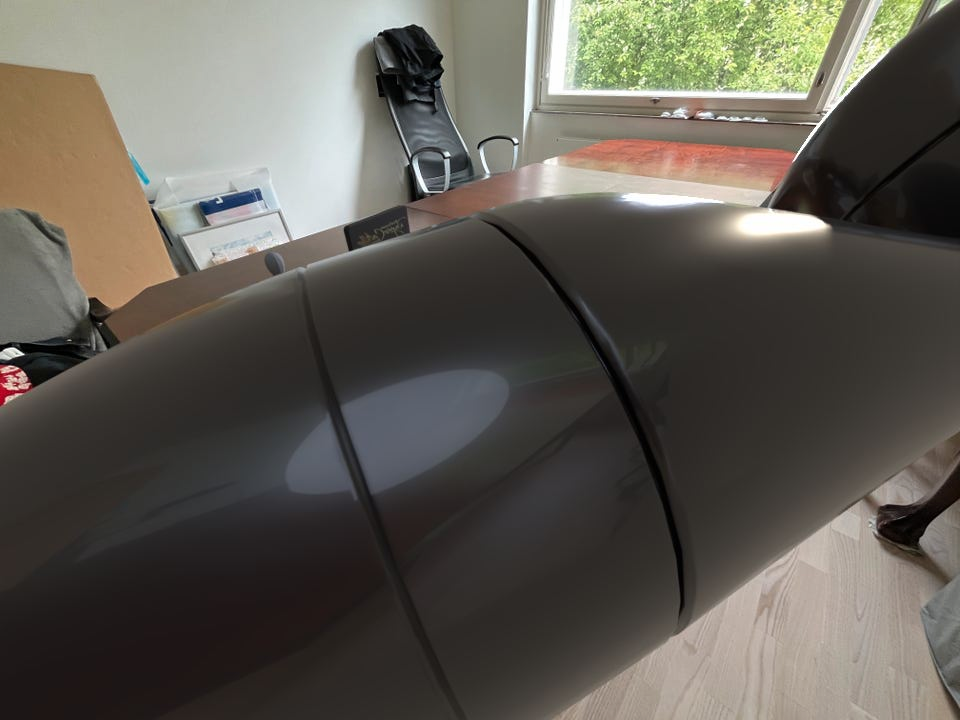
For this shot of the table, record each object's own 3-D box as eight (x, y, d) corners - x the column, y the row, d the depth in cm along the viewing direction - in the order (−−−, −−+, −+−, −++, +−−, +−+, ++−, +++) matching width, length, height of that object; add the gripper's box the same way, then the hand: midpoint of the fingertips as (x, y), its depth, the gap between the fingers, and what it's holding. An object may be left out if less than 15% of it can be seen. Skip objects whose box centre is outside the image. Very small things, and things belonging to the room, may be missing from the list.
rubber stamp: (314, 308, 80) (296, 254, 73) (288, 319, 77) (266, 263, 69) (293, 294, 86) (274, 242, 78) (268, 303, 82) (245, 250, 75)
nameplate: (406, 239, 111) (401, 204, 105) (411, 240, 110) (406, 205, 104) (352, 265, 97) (342, 226, 91) (357, 267, 96) (347, 228, 90)
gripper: (537, 348, 43) (394, 370, 41) (591, 443, 32) (401, 480, 30) (533, 395, 48) (405, 418, 46) (579, 493, 37) (413, 529, 35)
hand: (403, 442), depth 38 cm, fingers open, 8 cm apart
